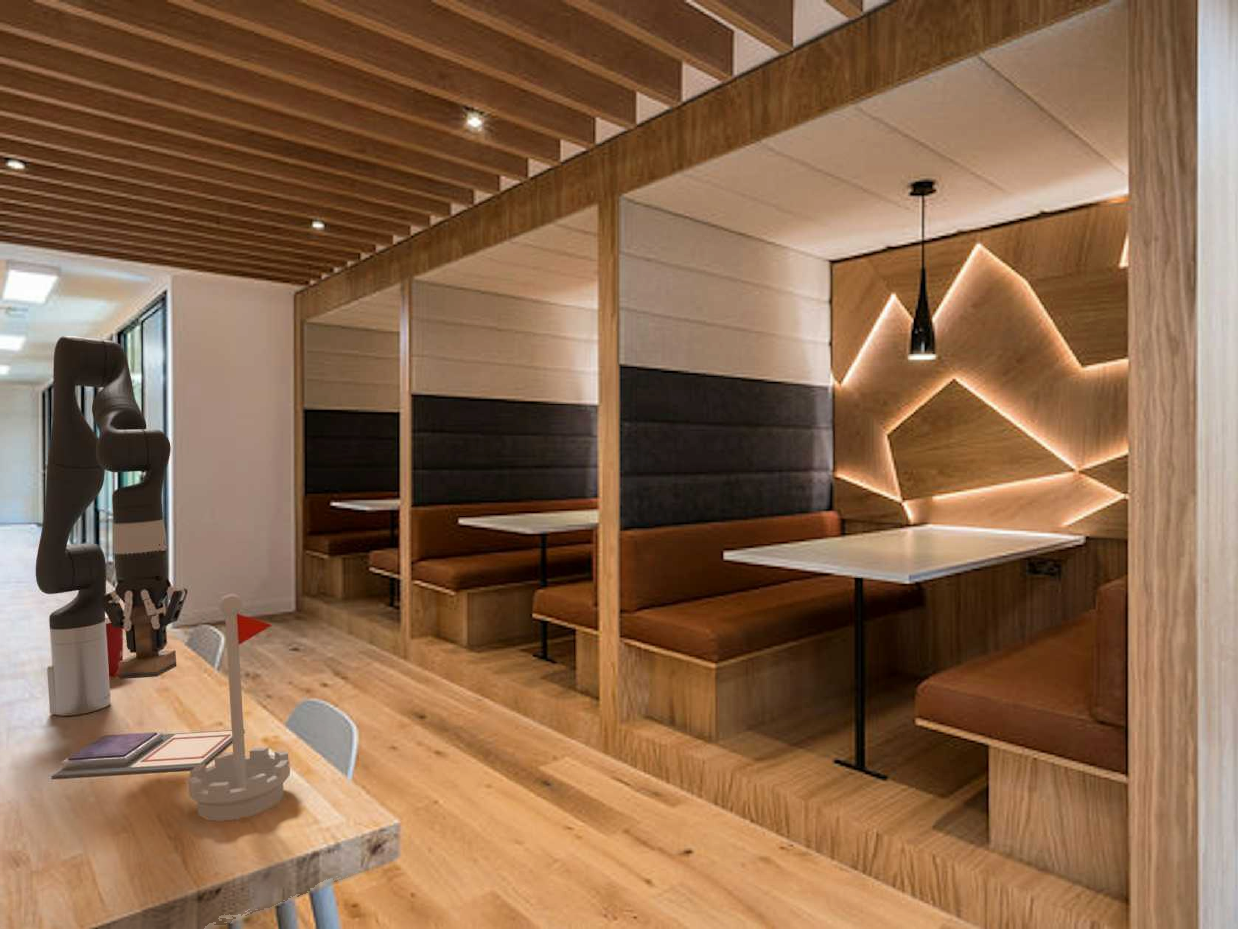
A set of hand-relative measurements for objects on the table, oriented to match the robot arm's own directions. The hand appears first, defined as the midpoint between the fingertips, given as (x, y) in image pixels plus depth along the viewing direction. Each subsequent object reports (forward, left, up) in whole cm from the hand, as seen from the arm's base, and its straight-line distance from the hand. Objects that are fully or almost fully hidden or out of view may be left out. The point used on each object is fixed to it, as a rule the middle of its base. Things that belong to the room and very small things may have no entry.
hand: (147, 650), depth 129 cm
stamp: (0, 0, -4) cm, 4 cm away
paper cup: (-39, +53, -18) cm, 68 cm away
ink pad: (-7, +1, -18) cm, 19 cm away
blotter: (0, +1, -18) cm, 18 cm away
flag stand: (+23, -20, -18) cm, 36 cm away
